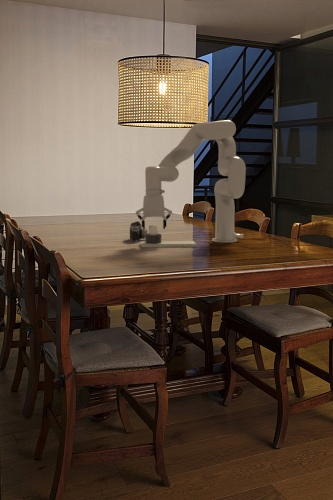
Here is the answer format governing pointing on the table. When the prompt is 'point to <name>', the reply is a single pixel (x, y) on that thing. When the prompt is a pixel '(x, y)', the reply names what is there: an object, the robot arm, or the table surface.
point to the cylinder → (153, 230)
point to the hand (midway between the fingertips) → (154, 228)
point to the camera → (137, 232)
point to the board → (170, 244)
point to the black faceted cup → (153, 239)
